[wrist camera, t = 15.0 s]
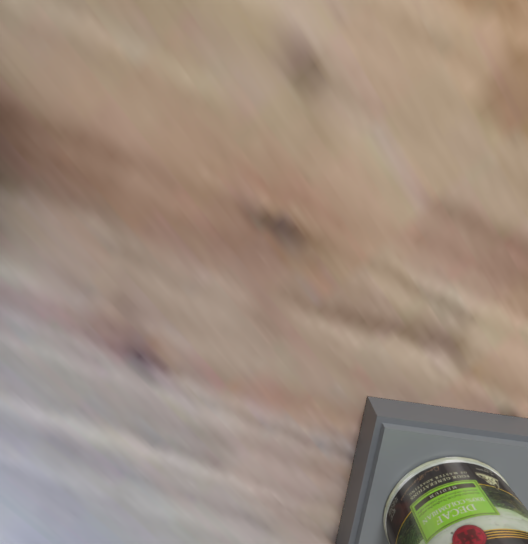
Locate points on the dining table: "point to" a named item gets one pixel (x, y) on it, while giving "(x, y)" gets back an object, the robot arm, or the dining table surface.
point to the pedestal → (423, 456)
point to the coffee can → (454, 506)
